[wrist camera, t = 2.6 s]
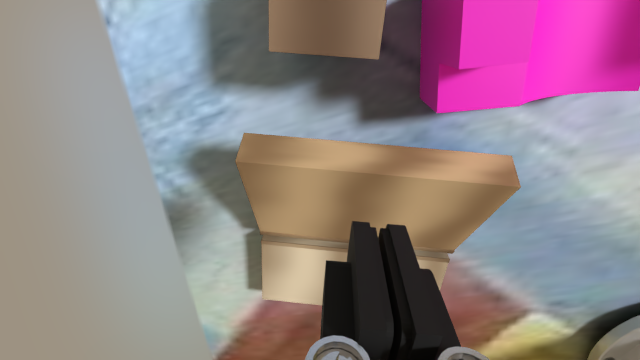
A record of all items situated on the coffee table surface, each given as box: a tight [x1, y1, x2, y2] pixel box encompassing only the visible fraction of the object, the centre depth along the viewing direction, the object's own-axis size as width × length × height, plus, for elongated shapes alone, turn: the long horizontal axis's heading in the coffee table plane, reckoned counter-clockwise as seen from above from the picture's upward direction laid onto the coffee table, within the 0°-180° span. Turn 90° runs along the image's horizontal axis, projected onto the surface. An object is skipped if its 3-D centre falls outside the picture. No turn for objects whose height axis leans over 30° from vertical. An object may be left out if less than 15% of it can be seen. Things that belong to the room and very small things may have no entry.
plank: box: [235, 133, 521, 253], centre depth 20 cm, size 14×9×2 cm
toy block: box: [420, 0, 640, 113], centre depth 15 cm, size 15×6×8 cm, turn 96°
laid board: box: [261, 235, 450, 305], centre depth 26 cm, size 14×6×2 cm, turn 86°
